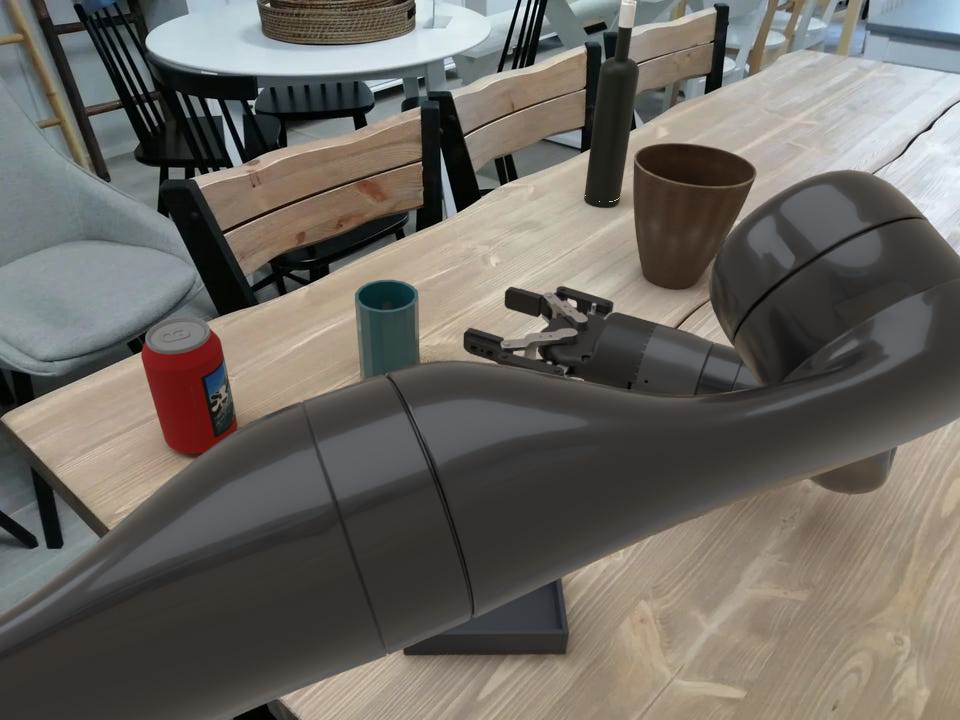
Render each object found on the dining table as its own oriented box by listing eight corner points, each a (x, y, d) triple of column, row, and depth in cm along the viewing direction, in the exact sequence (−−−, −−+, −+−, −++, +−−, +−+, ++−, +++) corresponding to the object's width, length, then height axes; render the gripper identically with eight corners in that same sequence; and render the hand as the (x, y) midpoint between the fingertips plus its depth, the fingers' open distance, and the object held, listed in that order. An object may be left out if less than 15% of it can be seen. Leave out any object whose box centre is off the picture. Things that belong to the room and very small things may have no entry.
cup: (391, 399, 77) (388, 319, 71) (348, 376, 80) (341, 296, 74) (431, 371, 81) (431, 293, 76) (388, 350, 85) (385, 273, 79)
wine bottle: (587, 191, 124) (612, -5, 107) (621, 196, 123) (652, -2, 105) (580, 204, 120) (605, 1, 102) (616, 210, 118) (647, 5, 101)
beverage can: (247, 445, 71) (226, 342, 64) (174, 469, 68) (144, 363, 61) (228, 406, 75) (207, 305, 68) (159, 426, 73) (130, 323, 66)
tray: (403, 655, 53) (402, 634, 52) (408, 577, 59) (407, 557, 58) (565, 654, 54) (569, 633, 53) (555, 577, 59) (558, 557, 58)
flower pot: (693, 246, 109) (717, 139, 99) (748, 297, 97) (781, 181, 88) (599, 255, 105) (615, 145, 96) (644, 309, 94) (667, 190, 84)
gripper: (680, 293, 68) (519, 251, 74) (631, 374, 57) (449, 318, 63) (666, 359, 72) (515, 315, 78) (618, 446, 62) (449, 387, 68)
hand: (486, 316), depth 71 cm, fingers open, 8 cm apart
